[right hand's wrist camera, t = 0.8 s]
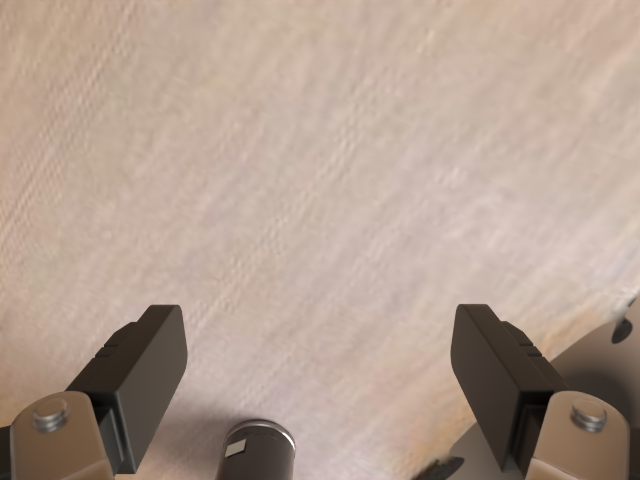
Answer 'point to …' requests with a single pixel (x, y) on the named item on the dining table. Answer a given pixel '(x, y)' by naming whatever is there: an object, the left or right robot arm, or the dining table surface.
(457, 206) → the dining table surface
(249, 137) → the dining table surface
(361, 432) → the dining table surface
